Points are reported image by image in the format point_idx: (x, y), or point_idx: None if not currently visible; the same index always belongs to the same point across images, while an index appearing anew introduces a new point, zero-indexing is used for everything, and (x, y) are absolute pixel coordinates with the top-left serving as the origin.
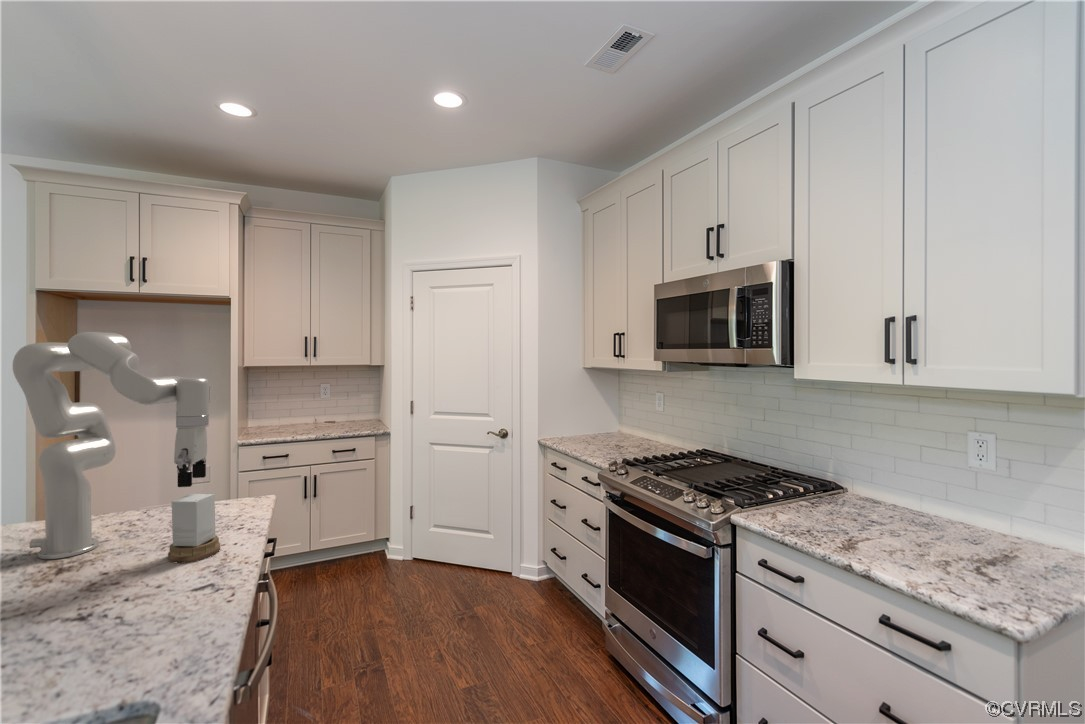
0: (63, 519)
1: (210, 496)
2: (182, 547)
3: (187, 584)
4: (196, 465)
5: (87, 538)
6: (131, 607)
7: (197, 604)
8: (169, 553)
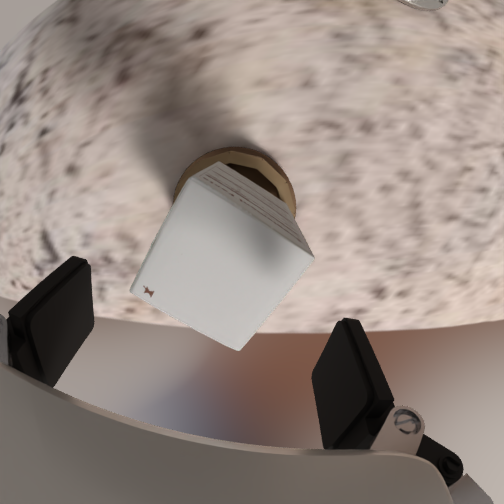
0: None
1: (214, 337)
2: (262, 176)
3: (64, 219)
4: (351, 414)
5: None
6: (19, 153)
7: (9, 245)
8: (227, 150)
